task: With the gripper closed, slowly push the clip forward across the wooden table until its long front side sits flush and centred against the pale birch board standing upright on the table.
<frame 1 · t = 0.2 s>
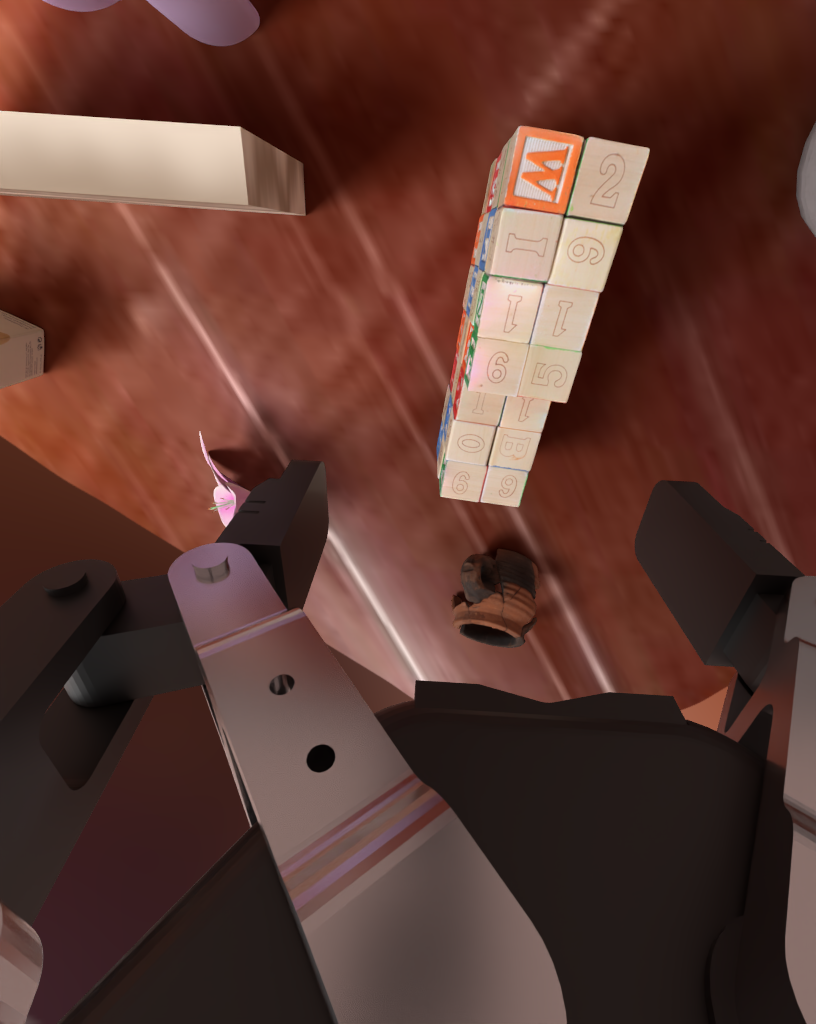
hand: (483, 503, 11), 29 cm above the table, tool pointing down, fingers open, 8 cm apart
stack of blocks: (496, 332, 37), on the table
skincare box: (8, 335, 38), on the table
lily: (248, 477, 44), on the table
pottery mug: (489, 575, 49), on the table
board: (149, 179, 32), on the table
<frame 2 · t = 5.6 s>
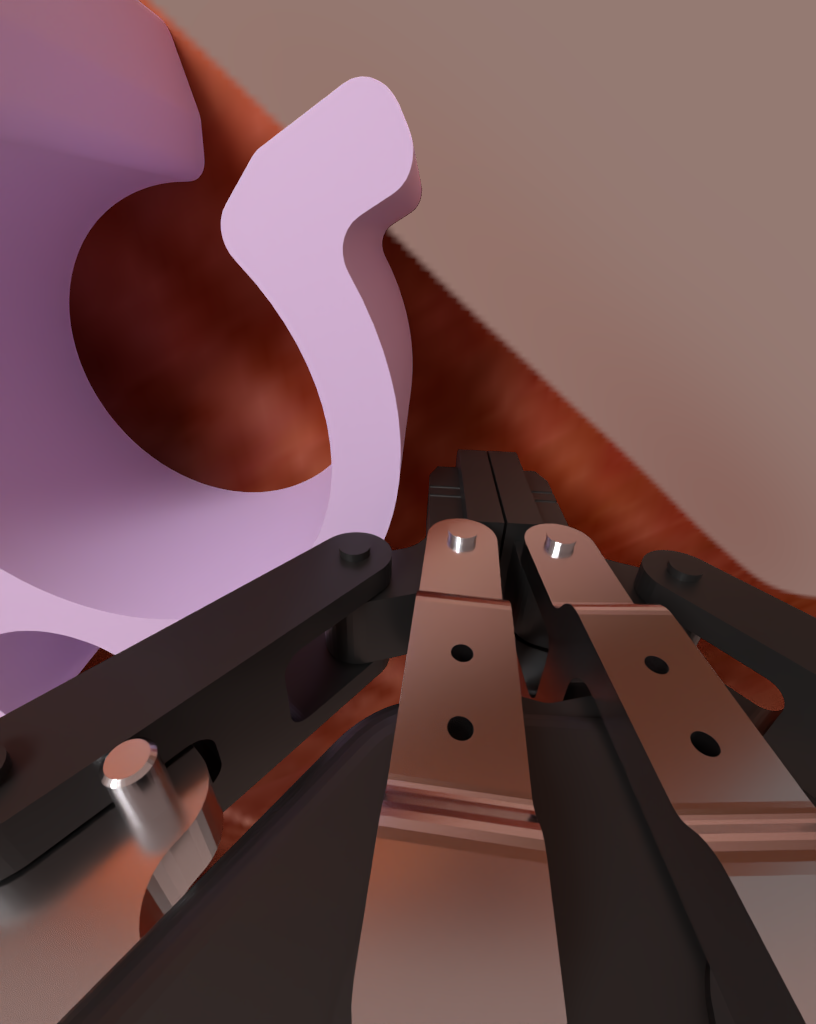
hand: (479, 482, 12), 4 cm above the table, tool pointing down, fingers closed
clip: (212, 427, 16), on the table, touching gripper
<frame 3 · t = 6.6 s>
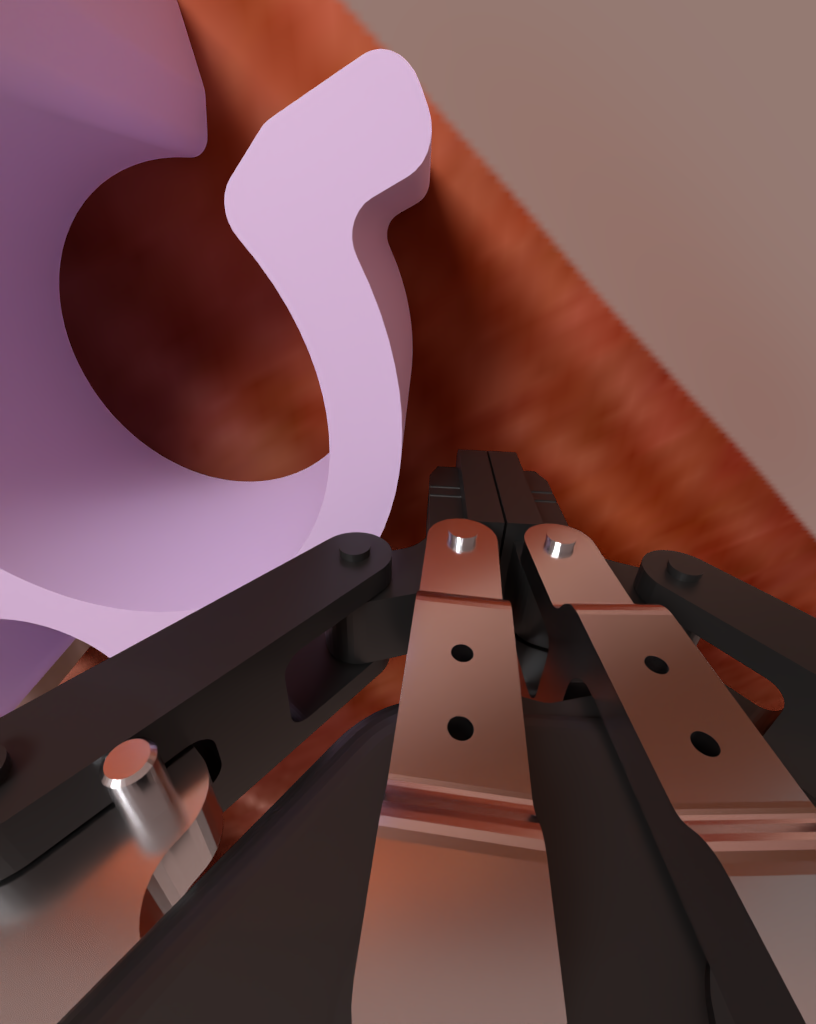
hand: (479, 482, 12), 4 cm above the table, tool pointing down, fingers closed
clip: (202, 415, 16), on the table, touching board, gripper
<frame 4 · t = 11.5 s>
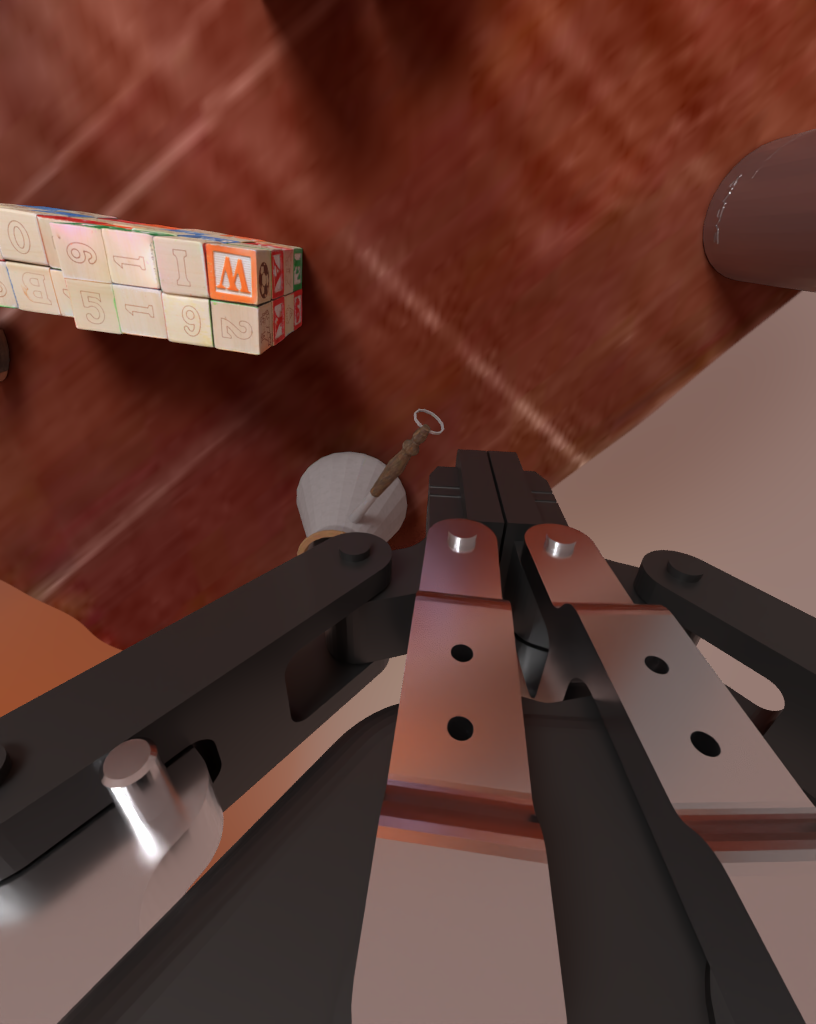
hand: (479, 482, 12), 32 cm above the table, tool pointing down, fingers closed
stack of blocks: (181, 268, 39), on the table
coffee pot: (377, 454, 47), on the table
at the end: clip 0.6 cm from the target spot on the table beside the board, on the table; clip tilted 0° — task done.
